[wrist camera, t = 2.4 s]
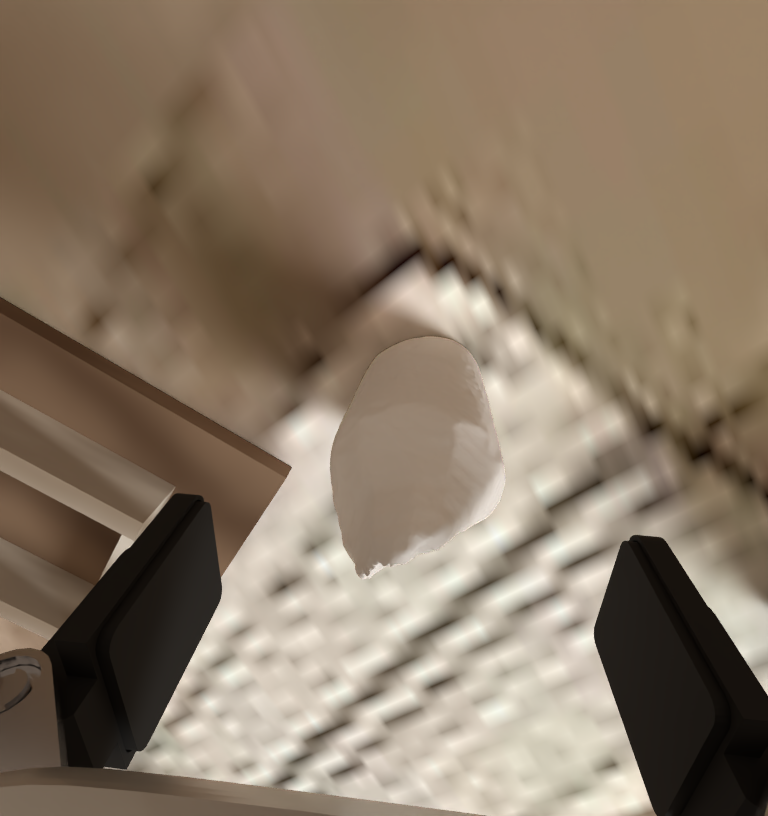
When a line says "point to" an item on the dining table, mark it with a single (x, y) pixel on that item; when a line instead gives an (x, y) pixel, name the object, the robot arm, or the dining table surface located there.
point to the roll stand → (101, 470)
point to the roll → (415, 454)
